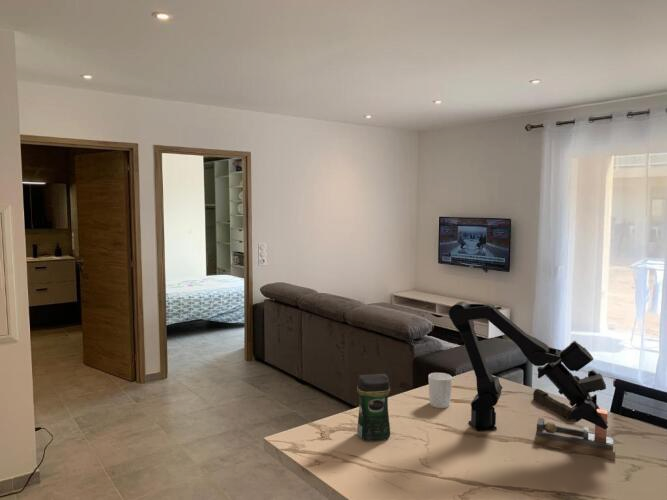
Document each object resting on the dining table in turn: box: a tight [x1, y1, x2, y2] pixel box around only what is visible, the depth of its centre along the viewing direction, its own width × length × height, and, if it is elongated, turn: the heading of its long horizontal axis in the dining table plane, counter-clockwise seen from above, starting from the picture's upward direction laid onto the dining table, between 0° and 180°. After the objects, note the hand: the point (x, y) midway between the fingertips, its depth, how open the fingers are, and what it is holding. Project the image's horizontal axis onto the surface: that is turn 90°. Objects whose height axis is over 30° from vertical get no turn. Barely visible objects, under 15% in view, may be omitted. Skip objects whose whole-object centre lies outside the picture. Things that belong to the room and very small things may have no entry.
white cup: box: [428, 372, 453, 409], centre depth 170 cm, size 8×8×10 cm
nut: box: [545, 421, 557, 433], centre depth 143 cm, size 3×3×3 cm
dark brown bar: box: [532, 388, 575, 422], centre depth 166 cm, size 19×4×5 cm, turn 14°
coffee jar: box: [356, 373, 391, 442], centre depth 145 cm, size 10×8×19 cm
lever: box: [583, 408, 614, 445], centre depth 138 cm, size 7×4×9 cm, turn 62°
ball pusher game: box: [534, 417, 616, 460], centre depth 141 cm, size 20×9×5 cm, turn 62°
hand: (606, 426), depth 137 cm, fingers closed on lever, 3 cm apart
